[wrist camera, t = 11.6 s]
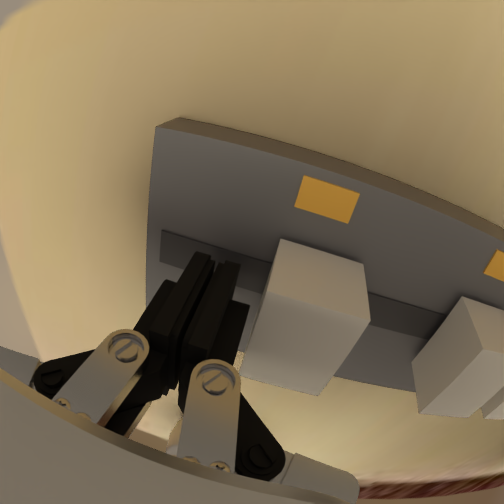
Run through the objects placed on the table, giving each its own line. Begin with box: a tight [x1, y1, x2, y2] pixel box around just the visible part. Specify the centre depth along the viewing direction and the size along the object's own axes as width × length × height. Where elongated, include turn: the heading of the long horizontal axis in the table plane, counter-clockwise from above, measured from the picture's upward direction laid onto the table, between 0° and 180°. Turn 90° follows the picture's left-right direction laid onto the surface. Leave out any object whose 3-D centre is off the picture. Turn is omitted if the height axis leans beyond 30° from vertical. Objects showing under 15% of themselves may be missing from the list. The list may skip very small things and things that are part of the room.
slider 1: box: [239, 239, 371, 396], centre depth 11 cm, size 3×4×3 cm
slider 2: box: [411, 296, 504, 418], centre depth 11 cm, size 3×4×3 cm
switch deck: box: [146, 118, 504, 392], centre depth 13 cm, size 26×10×2 cm, turn 77°
